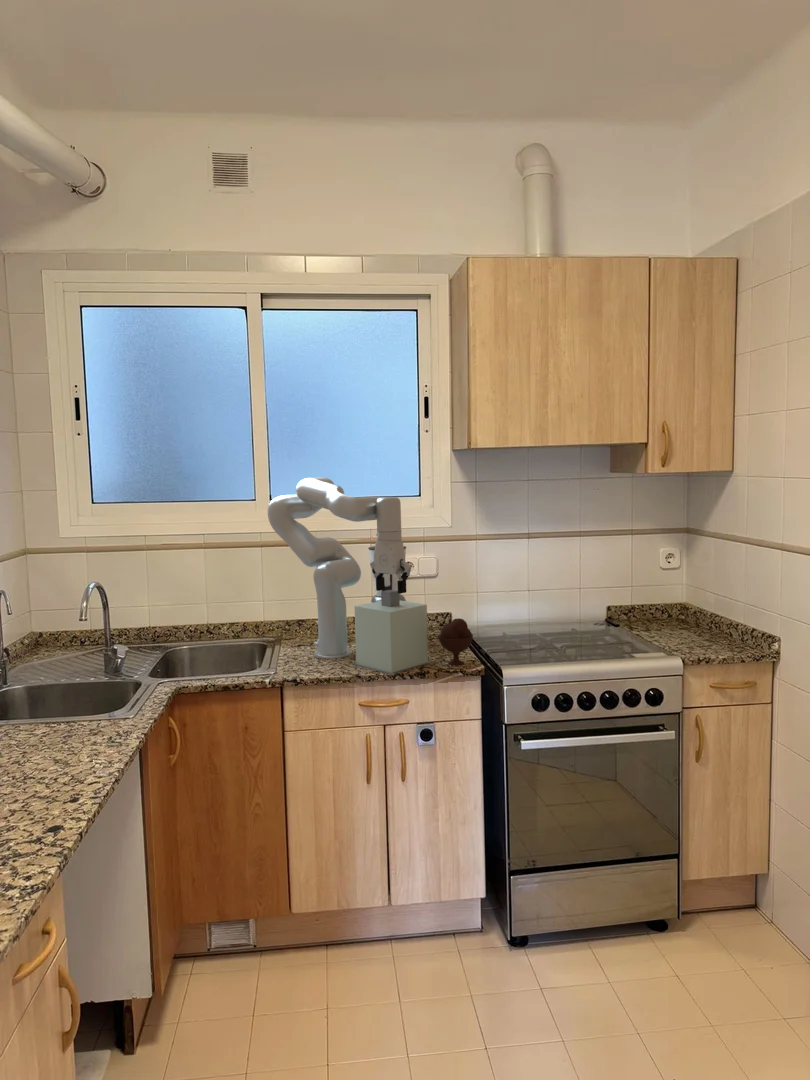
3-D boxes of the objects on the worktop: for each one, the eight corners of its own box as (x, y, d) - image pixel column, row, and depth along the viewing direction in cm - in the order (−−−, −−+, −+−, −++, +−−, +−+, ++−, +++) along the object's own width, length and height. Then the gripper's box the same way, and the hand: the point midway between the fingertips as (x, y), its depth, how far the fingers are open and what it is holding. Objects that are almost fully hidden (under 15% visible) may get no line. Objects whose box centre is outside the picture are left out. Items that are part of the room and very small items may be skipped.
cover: (356, 663, 232) (354, 591, 230) (392, 654, 243) (390, 585, 241) (391, 673, 221) (389, 597, 219) (427, 662, 232) (426, 590, 230)
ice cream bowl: (473, 660, 235) (472, 614, 234) (473, 670, 224) (472, 621, 223) (440, 660, 236) (439, 614, 235) (438, 669, 225) (437, 621, 224)
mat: (351, 665, 232) (351, 664, 232) (392, 654, 245) (392, 653, 245) (391, 676, 219) (391, 674, 219) (432, 664, 232) (432, 662, 232)
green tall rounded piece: (372, 636, 272) (370, 542, 269) (408, 636, 272) (406, 542, 269) (368, 649, 253) (365, 548, 250) (407, 648, 253) (405, 547, 250)
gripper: (361, 536, 232) (363, 590, 233) (400, 539, 219) (402, 595, 221) (379, 535, 237) (380, 587, 238) (417, 537, 225) (419, 592, 226)
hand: (391, 591), depth 230 cm, fingers open, 9 cm apart
